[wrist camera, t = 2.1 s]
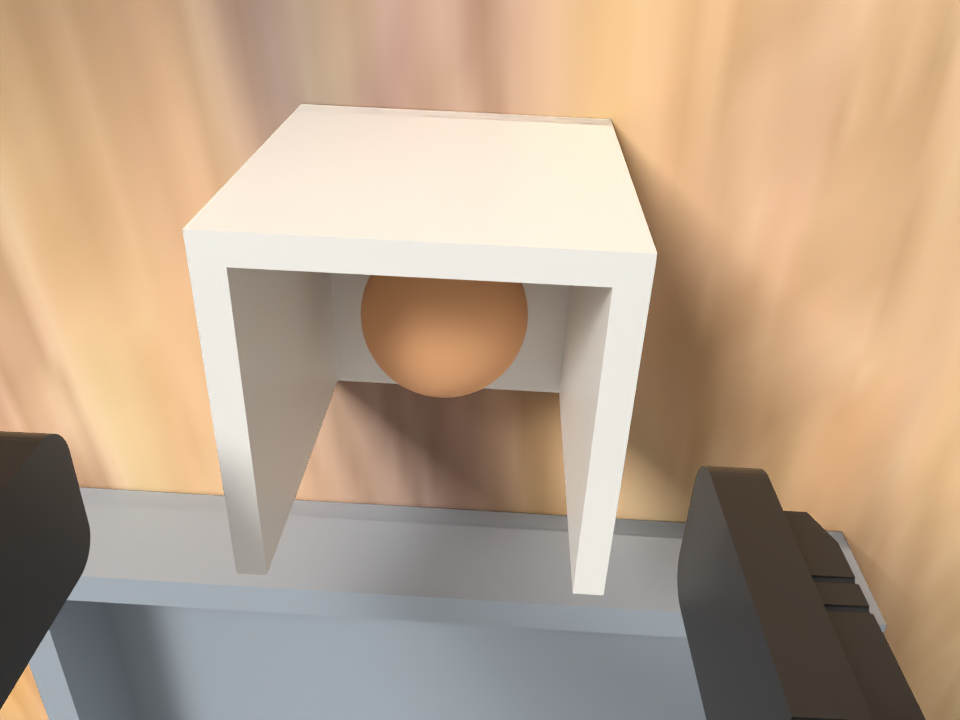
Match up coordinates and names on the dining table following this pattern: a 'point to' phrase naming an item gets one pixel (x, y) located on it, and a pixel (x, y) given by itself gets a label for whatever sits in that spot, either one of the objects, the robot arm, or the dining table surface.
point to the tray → (367, 618)
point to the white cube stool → (427, 254)
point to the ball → (443, 331)
